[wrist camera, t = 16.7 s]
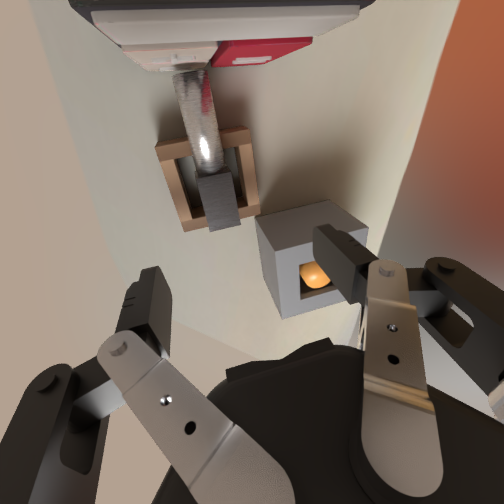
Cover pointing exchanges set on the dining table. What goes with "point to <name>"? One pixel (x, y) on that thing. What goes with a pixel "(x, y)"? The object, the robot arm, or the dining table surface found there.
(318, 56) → the dining table surface
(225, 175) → the stylus
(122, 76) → the dining table surface
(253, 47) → the calculator
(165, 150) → the wooden square frame
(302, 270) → the button
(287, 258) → the guard box
